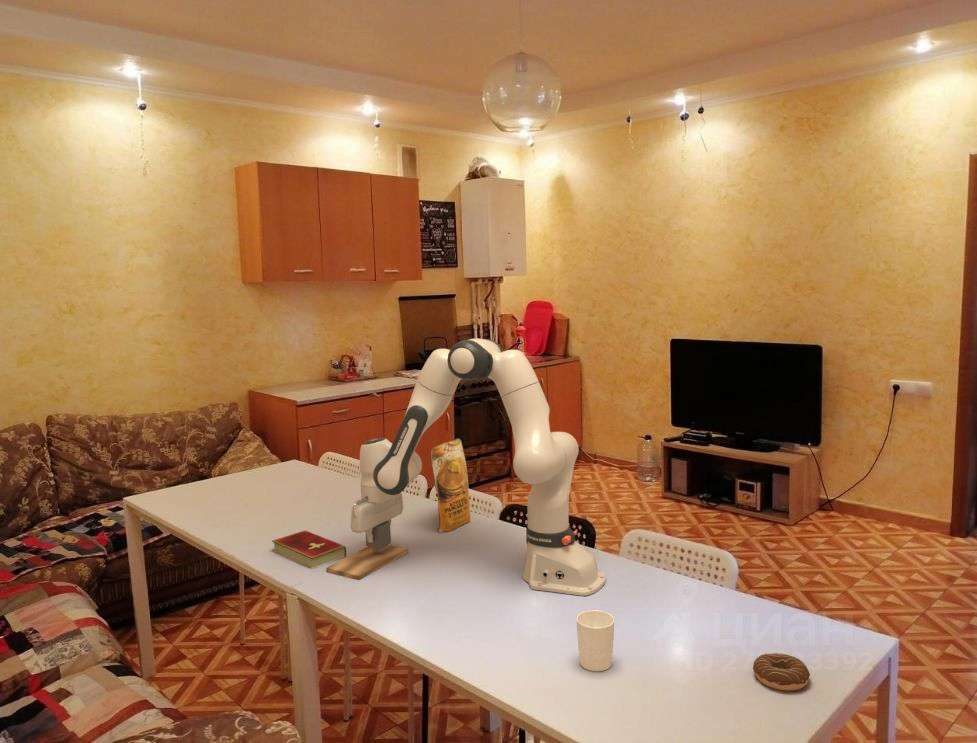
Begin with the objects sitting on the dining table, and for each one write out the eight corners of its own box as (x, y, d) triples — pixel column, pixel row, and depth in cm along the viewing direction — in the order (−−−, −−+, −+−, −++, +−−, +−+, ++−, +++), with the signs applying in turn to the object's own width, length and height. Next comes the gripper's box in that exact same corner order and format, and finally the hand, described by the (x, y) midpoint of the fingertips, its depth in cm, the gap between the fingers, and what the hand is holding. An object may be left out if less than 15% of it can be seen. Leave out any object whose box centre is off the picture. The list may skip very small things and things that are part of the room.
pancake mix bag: (426, 531, 234) (422, 447, 230) (462, 515, 249) (460, 435, 245) (442, 536, 230) (439, 450, 226) (478, 518, 245) (475, 438, 241)
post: (385, 551, 215) (384, 533, 214) (379, 554, 213) (378, 536, 212) (378, 549, 216) (377, 532, 215) (372, 552, 214) (372, 535, 213)
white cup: (610, 652, 157) (610, 609, 156) (618, 672, 149) (617, 627, 148) (574, 654, 157) (573, 610, 156) (580, 674, 149) (579, 628, 148)
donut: (789, 701, 138) (790, 682, 138) (741, 677, 147) (742, 659, 146) (820, 682, 145) (820, 663, 144) (772, 660, 153) (772, 642, 152)
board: (407, 552, 217) (407, 548, 216) (359, 580, 198) (358, 576, 198) (376, 545, 223) (376, 542, 223) (326, 571, 204) (326, 567, 204)
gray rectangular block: (391, 543, 215) (390, 521, 214) (379, 549, 211) (378, 527, 210) (377, 540, 218) (376, 519, 217) (366, 546, 213) (365, 524, 212)
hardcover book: (306, 541, 229) (305, 528, 228) (346, 558, 215) (346, 544, 214) (272, 553, 220) (272, 539, 220) (312, 570, 206) (311, 556, 206)
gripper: (361, 504, 202) (363, 551, 203) (405, 485, 219) (407, 528, 221) (344, 501, 205) (346, 547, 207) (389, 482, 222) (391, 525, 224)
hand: (378, 537), depth 214 cm, fingers closed on gray rectangular block, 5 cm apart
